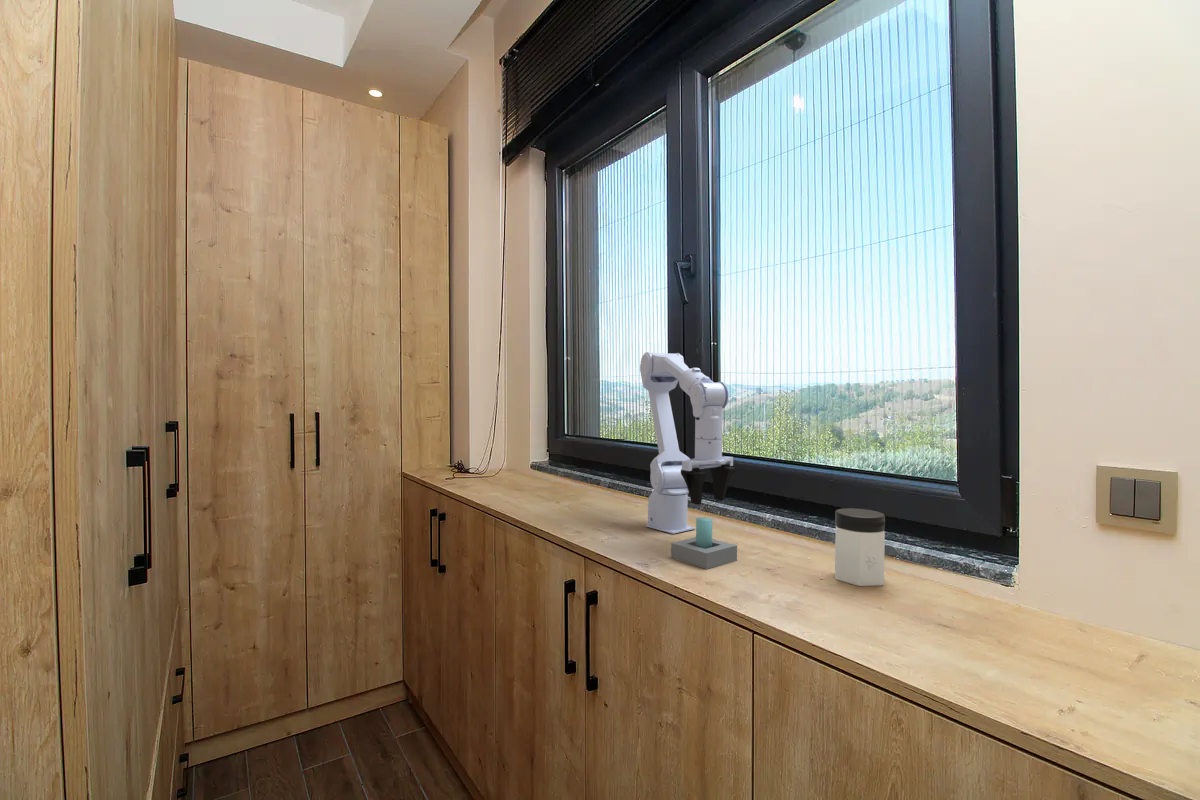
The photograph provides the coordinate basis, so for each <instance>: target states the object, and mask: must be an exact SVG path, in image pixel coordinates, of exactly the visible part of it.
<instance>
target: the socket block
mask: <svg viewBox="0 0 1200 800" xmlns="http://www.w3.org/2000/svg"><path fill="white" fill-rule="evenodd" d="M670 544H671V545H670V559H673V560H677V561H680V562H683V563H686V564H689V565H692V566H696V567H698V568H702V569H705V570H708V569H712V568H715V567H719V566H722V565H727V564H729V563H732V562H737V561H738V545H737V544H733V543H730V542H725V541H723V540H718V539H715V538H712V547H711V548H707V549H704V548H701V547H697V546H696V536H695V537H691V538H687V539H683V540H679V541H678V540H677V541H673V542H671V543H670Z"/></svg>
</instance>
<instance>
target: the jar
mask: <svg viewBox="0 0 1200 800" xmlns="http://www.w3.org/2000/svg"><path fill="white" fill-rule="evenodd" d="M834 512H835V513H834V515H835V519H834V525H835V540H834V541H835V542H834V543H835V544H834V545H835V548H834V549H835V551H834V553H835V554H834V578H835V580H836V581H840V582H842V583H846V584H850V585H854V586H856V587H877V586H878V587H879V586H880V587H882V586H884V584H885V548H886V547H885V546H886V545H885V544H886V541H885V540H886V539H885V538H886V535H885V534H886V533H885V530H886V529H885V526H886V516H885V514H884V513H883V512H880V511H875V510H871V509H866V508H853V507H852V508H851V507H849V508H839V509H838V508H837V509H836V510H835V511H834Z"/></svg>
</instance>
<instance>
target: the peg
mask: <svg viewBox="0 0 1200 800" xmlns="http://www.w3.org/2000/svg"><path fill="white" fill-rule="evenodd" d="M695 520H696V521H695V525H696V526H695V537H696V546H697V547H701V548H704V549H707V548H711V547H712V539H713V522H714V521H713V520H714V519H712V518H711V517H696V518H695Z"/></svg>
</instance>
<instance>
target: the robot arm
mask: <svg viewBox="0 0 1200 800" xmlns="http://www.w3.org/2000/svg"><path fill="white" fill-rule="evenodd" d="M701 370H702V369H700V368H699V367H692V368H689V366H688V364H686V363H685V360H684V356H683V355H682V354H680V353H679V352H675V353H665V352H650V351H646V352H644V353H643V355H642V357H641V360H640V366H639V371H640V377H641V382H642V387H643V388H644V389H645V390H647V391H648V397H649V402H650V408H651V415H652V420H653V427H654V432H655V433H654V434H655V437H656V443H657V444H656V445H657V448H658V454H657V456H655V457H654V458H653V460H652V461H651V462H650V465H649V467H650V468H649V469H650V477H649V478H650V485H651V487H652V489H653V491H652V492H651V493H650V495H649V497H648V501H647V515H648V516H647V523H646V524H645V527H647V528H651V529H654V530H658V531H661V532H665V533H668V534H673V535H674V534H678V533H679V534H680V533H683V532H687V531H694V530H696V526H693V525H692V526H691V525H688V506H689V505H688V504H689V503H688V498H690V502H691V504H693V505H699V506H700V505H701V504H702V499H703V489H704V484H705V480H706V477H707V474H708V473H707V472H704V471H703V472H702V471H701V470H703V469H709V470H710V474H711V478H712V484H713V486H712V487H713V488H712V489H713V497H714V500H716V501H718V500H719V501H724V500H725V499H726V498H725V497H726V495H727V489H728V486H729V483H730V481H731V479H732V477H733V475H734V474H735V472H736V467H733V466H734V456H725V455H723V409H724V408H726V407H727V405H728V402H729V390H728V387H727V385H726V384H725V382H724V381H717V382H714V381H713V380H712V379H711V378H710V377H709V376H707V375H705V374H704V373H703V372H702V371H701ZM677 385H679V388H680V389H681V390H682V391H683V392H685V394H686V395H688V396H689V399H690V403H691V407H692V415H693V417H695V419H694V421H695V422H694V425H695V426H694V427H695V428H694V432H695V433H694V458H690V457H689V456H687V455H686V454H685V453H683V452H682V451H680V447H679V441H678V437H677V430H676V425H675V420H674V416H673V410H672V404H671V399H670V395H669V393H670V391H672V390H674V389H675V388H676V387H677Z"/></svg>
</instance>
